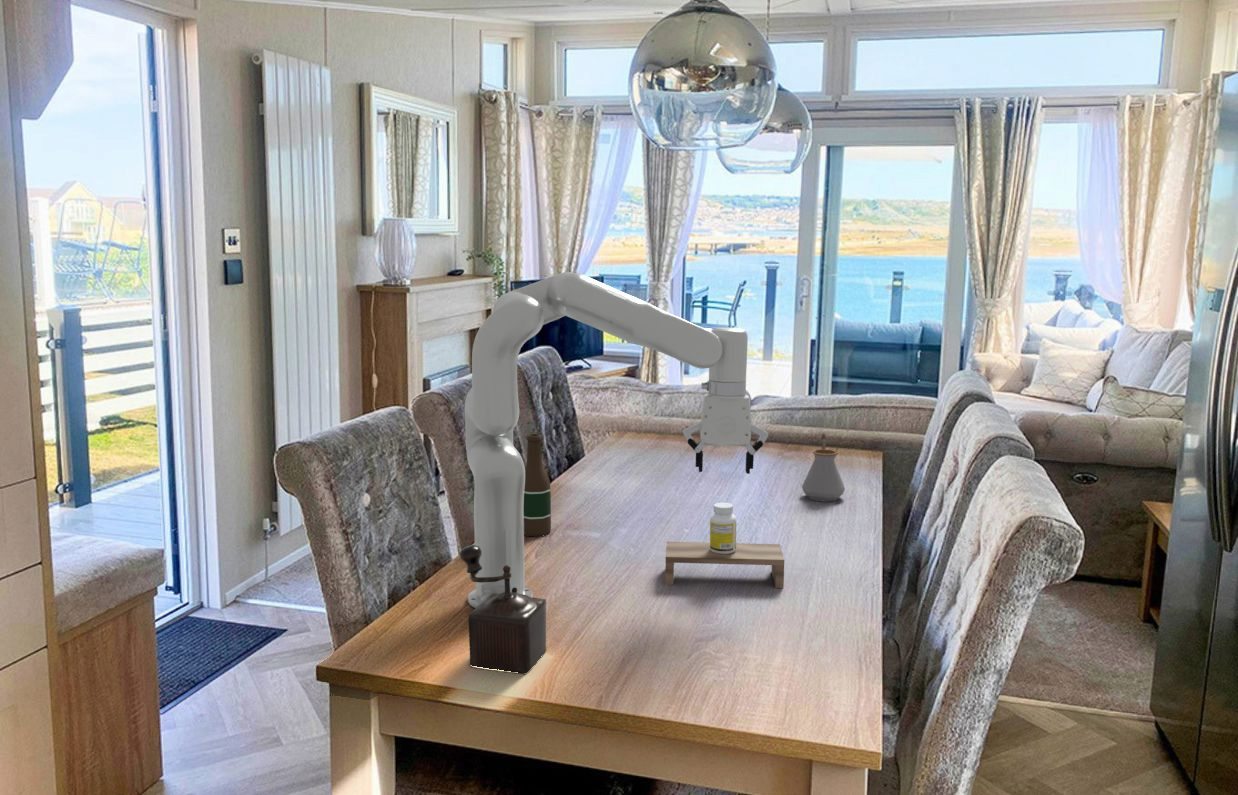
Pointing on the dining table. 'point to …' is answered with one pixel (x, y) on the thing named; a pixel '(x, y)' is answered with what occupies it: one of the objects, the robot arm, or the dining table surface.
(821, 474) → the coffee pot
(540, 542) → the dining table surface
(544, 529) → the beer bottle
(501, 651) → the manual coffee grinder
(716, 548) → the supplement bottle
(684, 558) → the wooden shelf
